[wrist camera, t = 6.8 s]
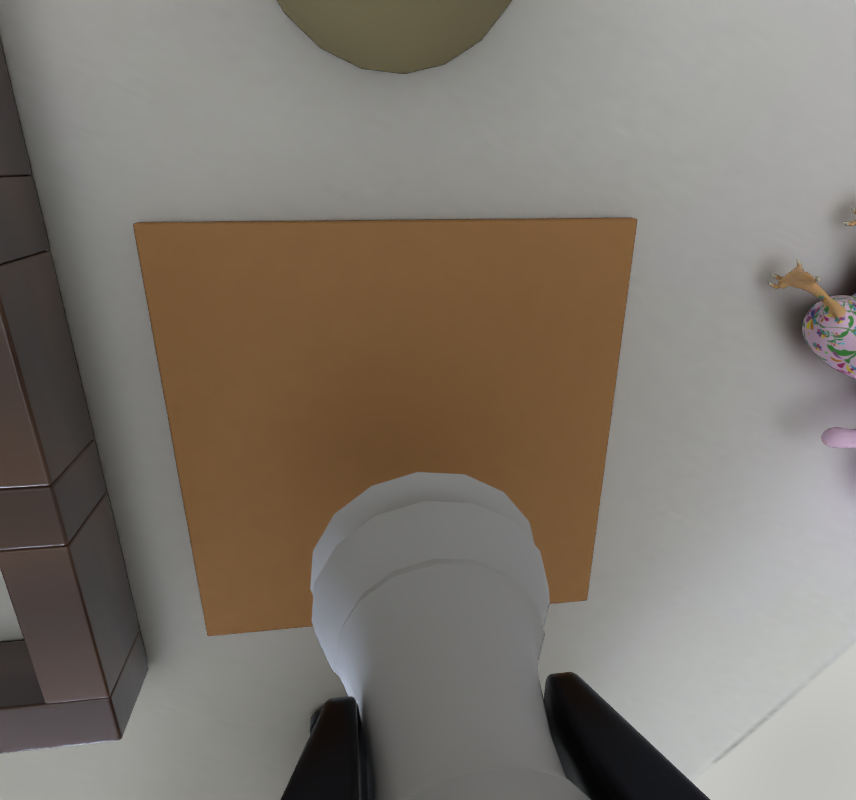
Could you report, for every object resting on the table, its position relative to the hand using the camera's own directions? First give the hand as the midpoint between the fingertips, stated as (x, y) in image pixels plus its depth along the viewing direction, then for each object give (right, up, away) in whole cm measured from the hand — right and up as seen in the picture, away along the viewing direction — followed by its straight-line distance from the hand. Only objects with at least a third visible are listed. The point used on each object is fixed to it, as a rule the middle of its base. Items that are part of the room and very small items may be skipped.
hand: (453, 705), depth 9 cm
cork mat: (-1, +3, +8) cm, 9 cm away
